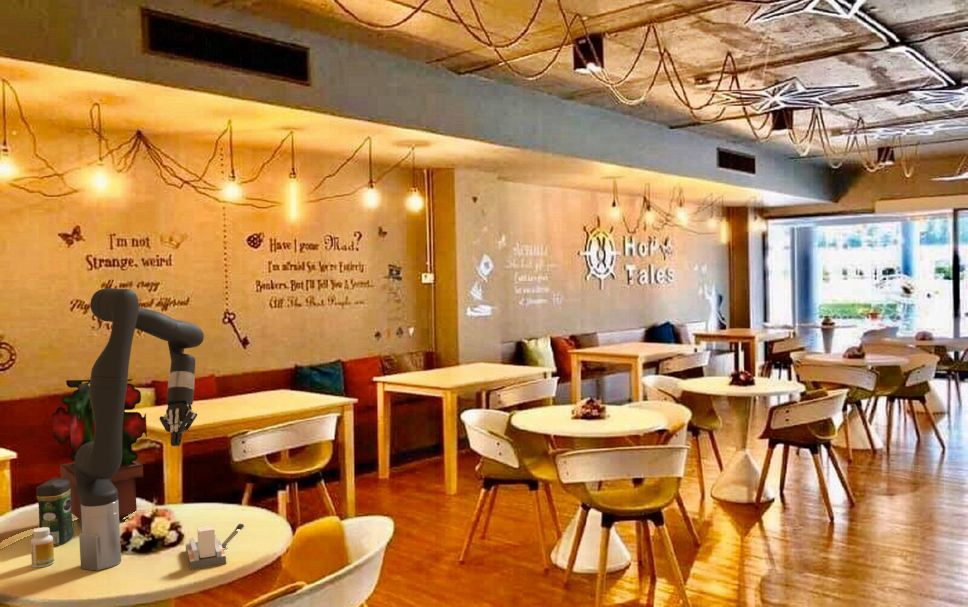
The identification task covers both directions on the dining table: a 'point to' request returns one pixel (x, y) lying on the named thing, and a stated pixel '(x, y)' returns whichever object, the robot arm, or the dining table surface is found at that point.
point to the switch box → (199, 562)
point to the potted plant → (82, 430)
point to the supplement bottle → (42, 548)
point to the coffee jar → (56, 509)
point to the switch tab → (206, 541)
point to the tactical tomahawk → (231, 536)
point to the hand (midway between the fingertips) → (175, 445)
